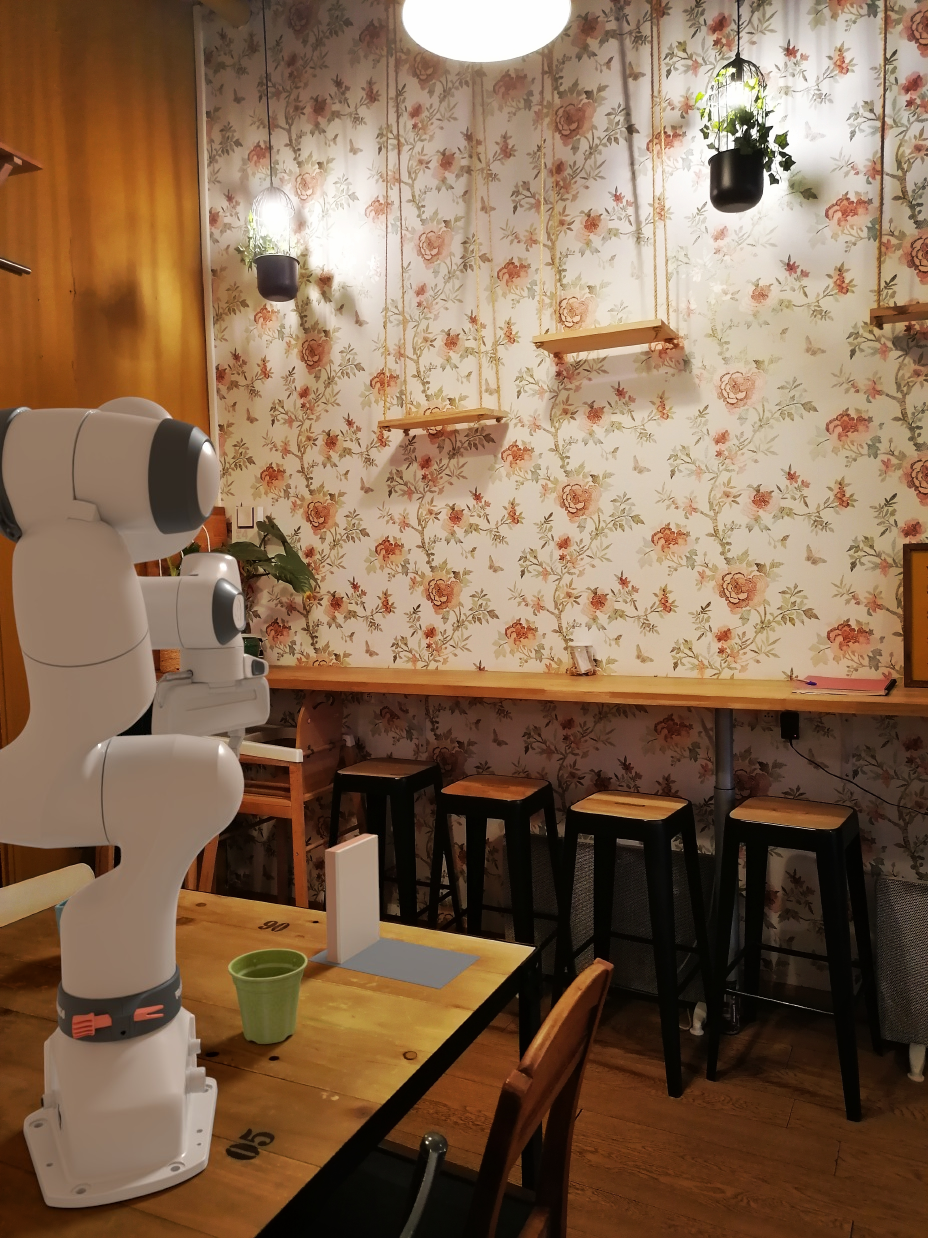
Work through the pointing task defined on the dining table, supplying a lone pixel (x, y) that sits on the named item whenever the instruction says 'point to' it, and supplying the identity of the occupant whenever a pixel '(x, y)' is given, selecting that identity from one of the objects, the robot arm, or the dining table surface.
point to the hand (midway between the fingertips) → (214, 764)
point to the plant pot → (268, 992)
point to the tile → (352, 897)
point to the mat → (406, 962)
